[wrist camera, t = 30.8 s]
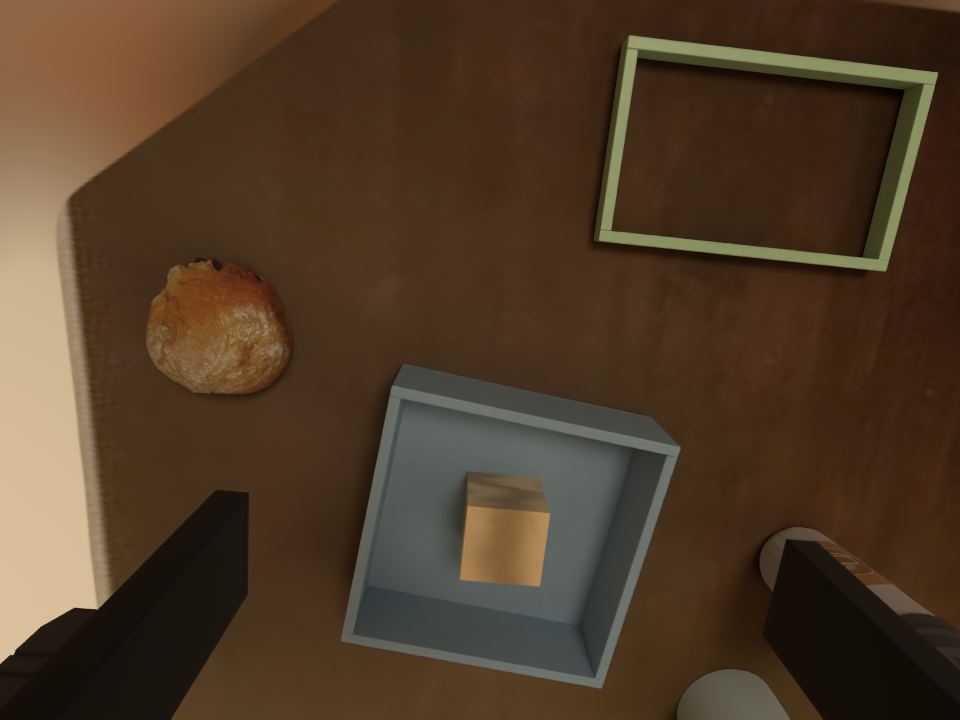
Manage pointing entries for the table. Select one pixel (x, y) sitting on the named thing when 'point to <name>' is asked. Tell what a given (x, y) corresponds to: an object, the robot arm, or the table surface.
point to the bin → (570, 539)
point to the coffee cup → (929, 626)
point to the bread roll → (219, 329)
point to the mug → (729, 698)
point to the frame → (911, 81)
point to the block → (503, 529)
